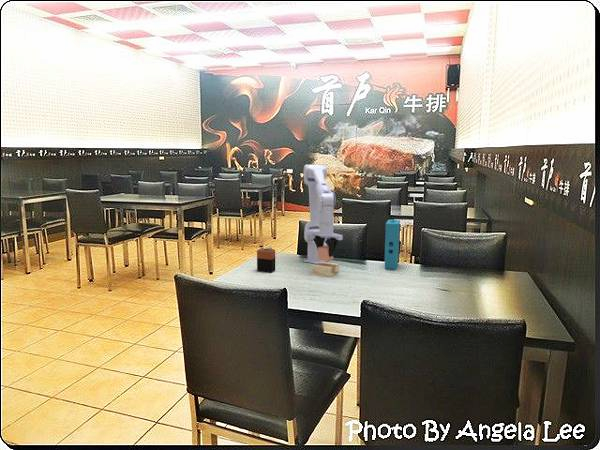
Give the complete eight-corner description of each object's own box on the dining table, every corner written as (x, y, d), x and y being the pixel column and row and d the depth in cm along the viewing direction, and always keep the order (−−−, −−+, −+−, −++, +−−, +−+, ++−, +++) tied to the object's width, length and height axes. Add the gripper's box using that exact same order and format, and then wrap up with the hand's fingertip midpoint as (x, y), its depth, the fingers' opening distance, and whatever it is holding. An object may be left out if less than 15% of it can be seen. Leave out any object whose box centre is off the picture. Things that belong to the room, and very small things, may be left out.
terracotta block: (324, 257, 185) (324, 245, 184) (333, 258, 182) (333, 247, 181) (318, 259, 181) (318, 247, 181) (327, 260, 179) (327, 248, 178)
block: (387, 263, 200) (388, 219, 196) (398, 264, 198) (400, 220, 195) (383, 270, 188) (385, 223, 185) (395, 271, 187) (397, 224, 184)
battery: (271, 273, 183) (271, 249, 182) (256, 271, 186) (256, 248, 184) (275, 270, 187) (275, 247, 186) (261, 268, 190) (261, 246, 188)
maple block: (321, 270, 188) (322, 261, 188) (338, 273, 184) (338, 263, 184) (312, 274, 182) (312, 265, 181) (329, 277, 177) (329, 268, 177)
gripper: (306, 222, 181) (305, 254, 183) (336, 225, 172) (335, 259, 174) (316, 220, 186) (315, 251, 188) (345, 223, 178) (345, 256, 180)
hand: (325, 255), depth 182 cm, fingers closed on terracotta block, 4 cm apart
